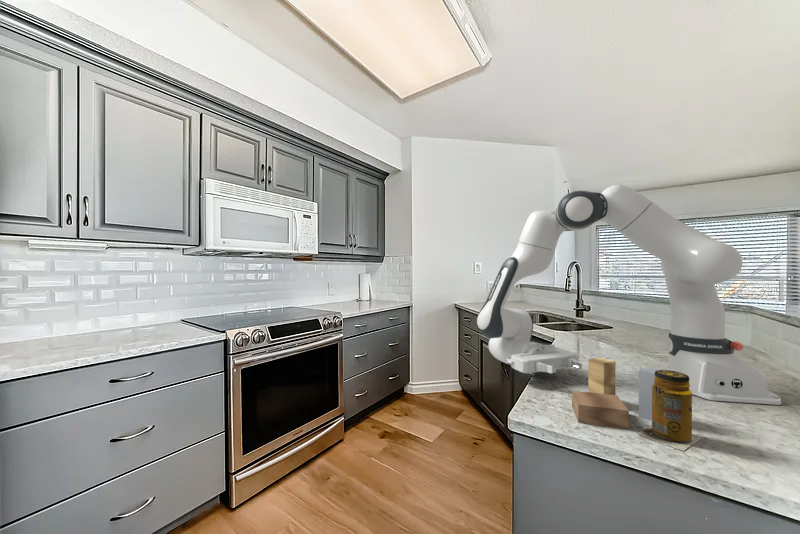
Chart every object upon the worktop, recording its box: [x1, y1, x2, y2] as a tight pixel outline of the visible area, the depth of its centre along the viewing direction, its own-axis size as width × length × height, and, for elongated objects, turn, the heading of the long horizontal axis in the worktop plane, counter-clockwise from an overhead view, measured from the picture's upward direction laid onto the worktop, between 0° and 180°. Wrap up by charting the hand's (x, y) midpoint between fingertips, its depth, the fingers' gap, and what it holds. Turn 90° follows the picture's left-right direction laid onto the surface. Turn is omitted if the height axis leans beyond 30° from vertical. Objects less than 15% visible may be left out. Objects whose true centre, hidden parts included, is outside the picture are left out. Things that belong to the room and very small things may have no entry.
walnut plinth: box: [571, 390, 630, 430], centre depth 75 cm, size 9×9×4 cm
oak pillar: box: [587, 357, 617, 395], centre depth 83 cm, size 4×4×10 cm
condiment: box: [636, 369, 701, 452], centre depth 66 cm, size 7×8×12 cm
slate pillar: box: [638, 367, 658, 422], centre depth 74 cm, size 4×4×10 cm
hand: (567, 368), depth 93 cm, fingers open, 8 cm apart
